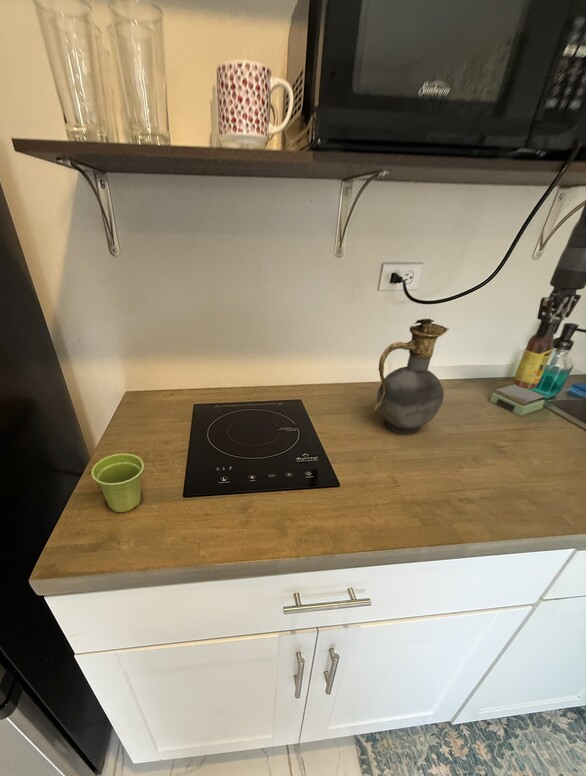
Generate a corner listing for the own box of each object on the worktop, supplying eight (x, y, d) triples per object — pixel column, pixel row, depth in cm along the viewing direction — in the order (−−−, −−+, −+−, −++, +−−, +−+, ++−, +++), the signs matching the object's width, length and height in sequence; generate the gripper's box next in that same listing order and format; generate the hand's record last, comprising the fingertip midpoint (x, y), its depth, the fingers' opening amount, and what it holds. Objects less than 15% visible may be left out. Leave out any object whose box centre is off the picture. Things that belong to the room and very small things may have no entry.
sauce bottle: (535, 391, 110) (565, 322, 99) (510, 386, 113) (536, 318, 102) (538, 383, 114) (567, 316, 104) (514, 378, 118) (540, 312, 107)
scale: (510, 395, 123) (513, 387, 122) (541, 409, 116) (545, 400, 114) (488, 402, 119) (491, 393, 118) (519, 416, 112) (523, 407, 110)
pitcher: (439, 433, 103) (475, 321, 87) (376, 445, 98) (403, 327, 81) (413, 414, 111) (442, 308, 95) (355, 423, 106) (374, 313, 90)
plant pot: (151, 485, 82) (146, 451, 78) (146, 516, 75) (140, 481, 70) (105, 488, 81) (97, 454, 76) (96, 521, 73) (86, 485, 69)
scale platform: (514, 387, 121) (515, 384, 121) (543, 399, 114) (545, 396, 114) (495, 392, 118) (496, 389, 117) (524, 405, 111) (525, 402, 110)
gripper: (574, 271, 91) (543, 342, 100) (606, 268, 97) (575, 335, 106) (542, 266, 97) (516, 333, 106) (575, 263, 102) (547, 327, 111)
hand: (545, 334), depth 106 cm, fingers closed on sauce bottle, 4 cm apart
